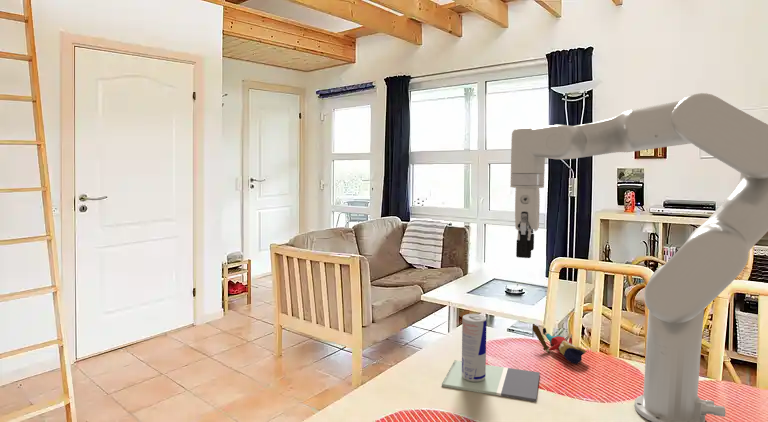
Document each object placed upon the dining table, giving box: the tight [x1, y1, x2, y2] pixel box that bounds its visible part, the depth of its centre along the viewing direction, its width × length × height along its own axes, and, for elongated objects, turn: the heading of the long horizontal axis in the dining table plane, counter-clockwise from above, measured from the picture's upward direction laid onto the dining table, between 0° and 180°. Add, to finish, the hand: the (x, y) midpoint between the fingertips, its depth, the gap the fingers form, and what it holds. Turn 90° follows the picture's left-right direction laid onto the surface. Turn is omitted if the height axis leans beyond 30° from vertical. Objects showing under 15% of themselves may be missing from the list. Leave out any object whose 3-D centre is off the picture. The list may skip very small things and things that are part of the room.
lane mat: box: [441, 359, 541, 402], centre depth 117 cm, size 21×14×1 cm, turn 70°
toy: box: [532, 323, 587, 365], centre depth 131 cm, size 9×6×15 cm
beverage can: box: [461, 313, 487, 382], centre depth 116 cm, size 6×6×15 cm
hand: (525, 253), depth 116 cm, fingers open, 9 cm apart
